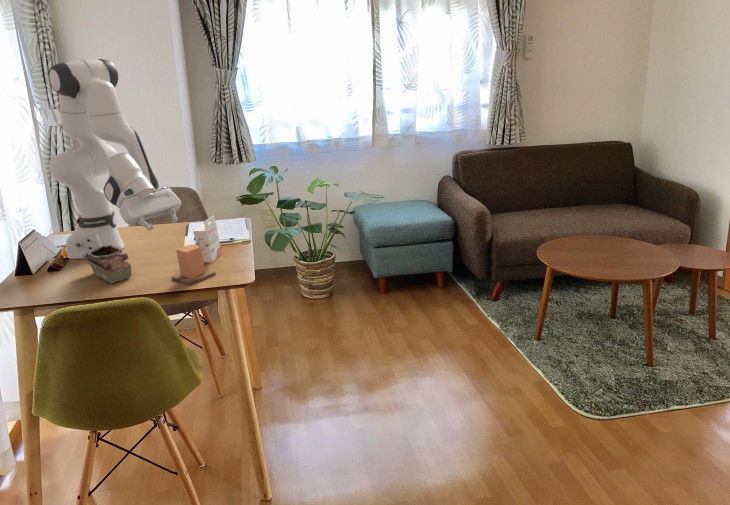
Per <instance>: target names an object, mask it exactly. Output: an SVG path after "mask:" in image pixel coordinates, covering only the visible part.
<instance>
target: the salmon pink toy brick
mask: <svg viewBox="0 0 730 505" xmlns="http://www.w3.org/2000/svg"><path fill="white" fill-rule="evenodd" d="M175 250H176V251H175V252H176V257H177V261H178V267H179V271H180V272H179V273H181V276H184V277H187V278H191V279H192V278H194V277H197V276H199V275H202V274H204V273H206V272H205V269H206V267H205V262H204V261H203V255H202V250H201V247H199V246H196V244H187V245H185V246H182V247H180V248H177V249H175Z"/></svg>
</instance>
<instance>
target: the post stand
mask: <svg viewBox="0 0 730 505" xmlns="http://www.w3.org/2000/svg"><path fill="white" fill-rule="evenodd" d="M205 272H206V273H204V274H202V275H199V276H197V277H194V278H192V279H191V278H187V277H184V276H181V273H180V272H179V273H177V274H174V275H171V280H173V281H176V282H179V283H182V284H186V285H188V286H192V285H194V284H196V283H199V282H202V281H204V280H207V279H209V278H211V277H214V276H216V274H217V273H216V271H213V270H210V269H206V268H205Z"/></svg>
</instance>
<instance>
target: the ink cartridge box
mask: <svg viewBox="0 0 730 505" xmlns="http://www.w3.org/2000/svg"><path fill="white" fill-rule="evenodd" d="M192 232H193V236H194V241H195V246H199V247H201V250H202V255H203V261H204V263H213V262H214V261H215V260H216V259H217V258H218V257H220V256H221V255H222V249H221V244H220V238H219V232H218V227H217V222H216V218H215V215H212V216H210V217H209V218H207V219H206V220H205V221H203V223H202V224H201V225H200V226H198V227H197V228H196V229H194V230H192Z"/></svg>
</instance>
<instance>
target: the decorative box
mask: <svg viewBox="0 0 730 505" xmlns="http://www.w3.org/2000/svg"><path fill="white" fill-rule="evenodd" d="M122 249H123V248H121V247H118V246H115V245H105V246H102V247H101V246H100V247H96V248H94V249H91V250H90V251H88V252H86V253H85V254H83V258H82V259H83V260H84V261H85V263H87V264H88V265H89V266H90V267H91V269H92V271H93V273H94V275H95V276H96V277H98V278H100V279H102V280H104V281H106V282H107V283H109V284H110V285H111V284H113V283H116V282H122V281H123V280H124V279H127V278H129V277H131V276H132V265H131V263H130V262H128V261H127V260H129V255H128V253H126V252H123V251H122Z"/></svg>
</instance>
